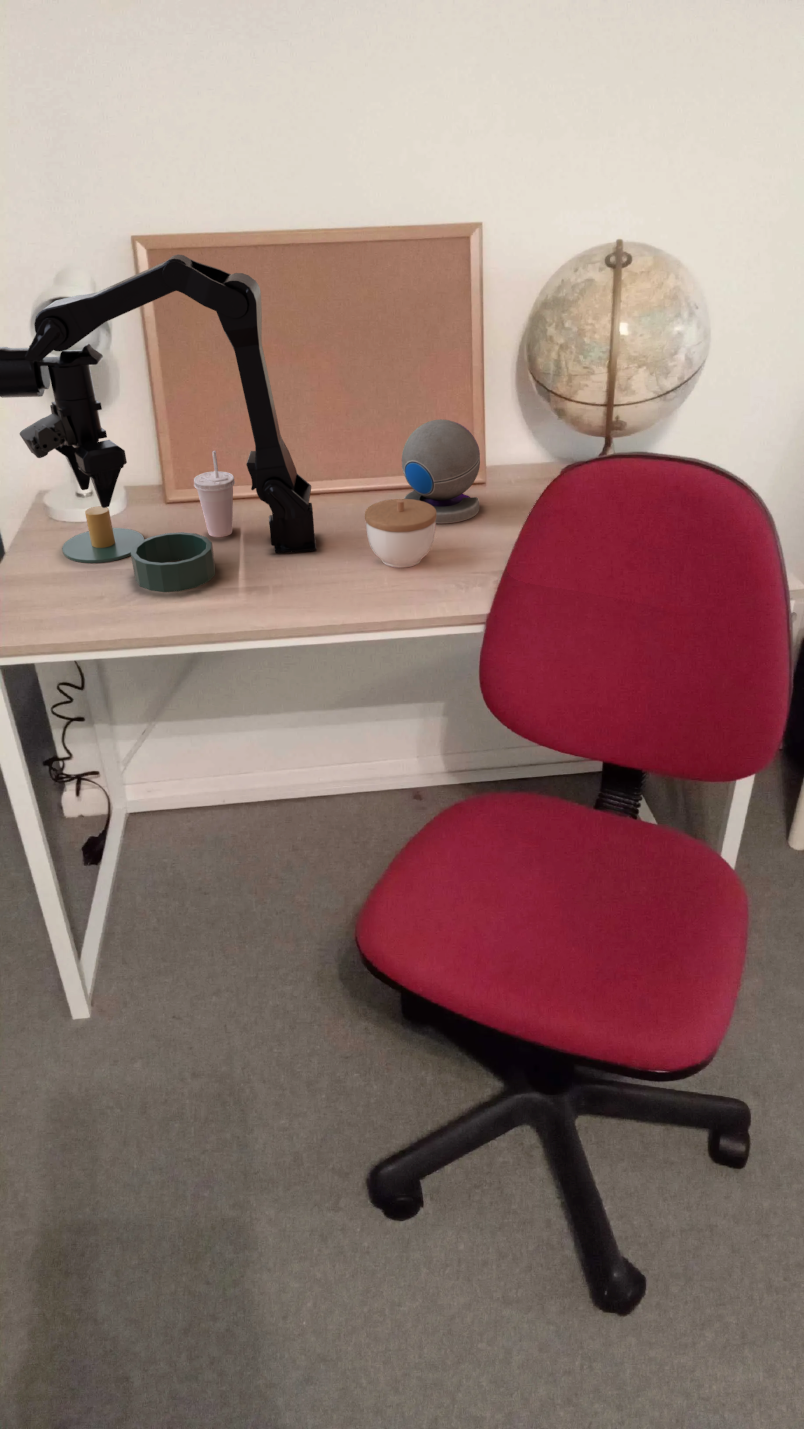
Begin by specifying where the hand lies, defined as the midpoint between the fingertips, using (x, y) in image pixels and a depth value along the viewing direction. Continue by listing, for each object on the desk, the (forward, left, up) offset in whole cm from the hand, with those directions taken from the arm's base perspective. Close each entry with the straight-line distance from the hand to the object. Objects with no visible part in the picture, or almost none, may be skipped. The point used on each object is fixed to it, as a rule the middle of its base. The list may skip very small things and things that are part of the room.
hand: (95, 498), depth 152 cm
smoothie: (-18, -3, -9) cm, 20 cm away
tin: (-12, +12, -9) cm, 19 cm away
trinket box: (-46, +11, -9) cm, 48 cm away
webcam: (-55, -8, -9) cm, 56 cm away
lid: (0, 0, -8) cm, 8 cm away
